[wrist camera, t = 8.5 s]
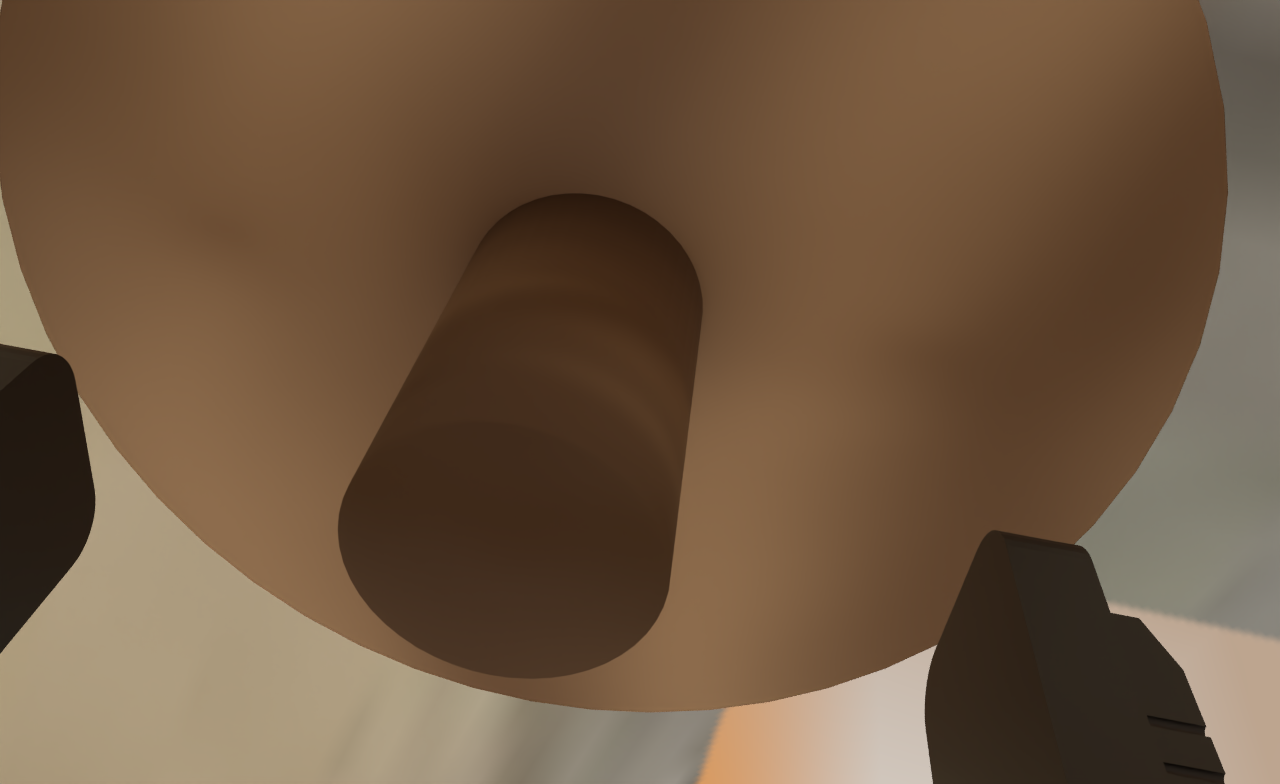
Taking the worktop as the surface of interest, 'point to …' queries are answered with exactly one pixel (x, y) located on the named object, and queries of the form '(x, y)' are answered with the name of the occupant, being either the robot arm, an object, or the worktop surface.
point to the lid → (620, 306)
